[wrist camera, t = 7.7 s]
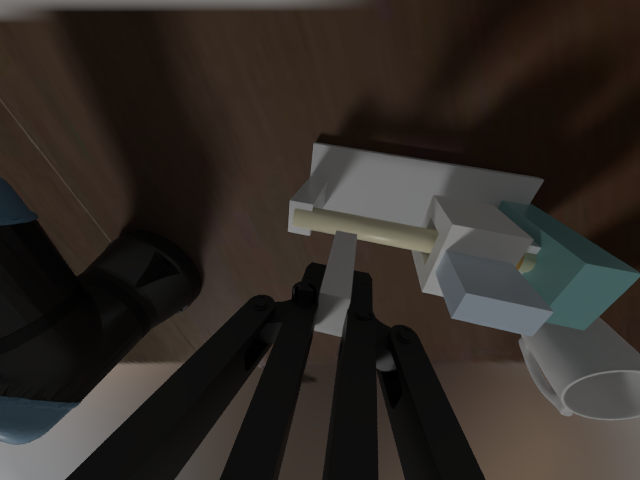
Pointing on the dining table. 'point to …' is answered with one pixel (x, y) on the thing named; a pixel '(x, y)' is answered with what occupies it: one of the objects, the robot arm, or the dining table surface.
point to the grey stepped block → (479, 267)
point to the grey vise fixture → (406, 232)
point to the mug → (585, 370)
